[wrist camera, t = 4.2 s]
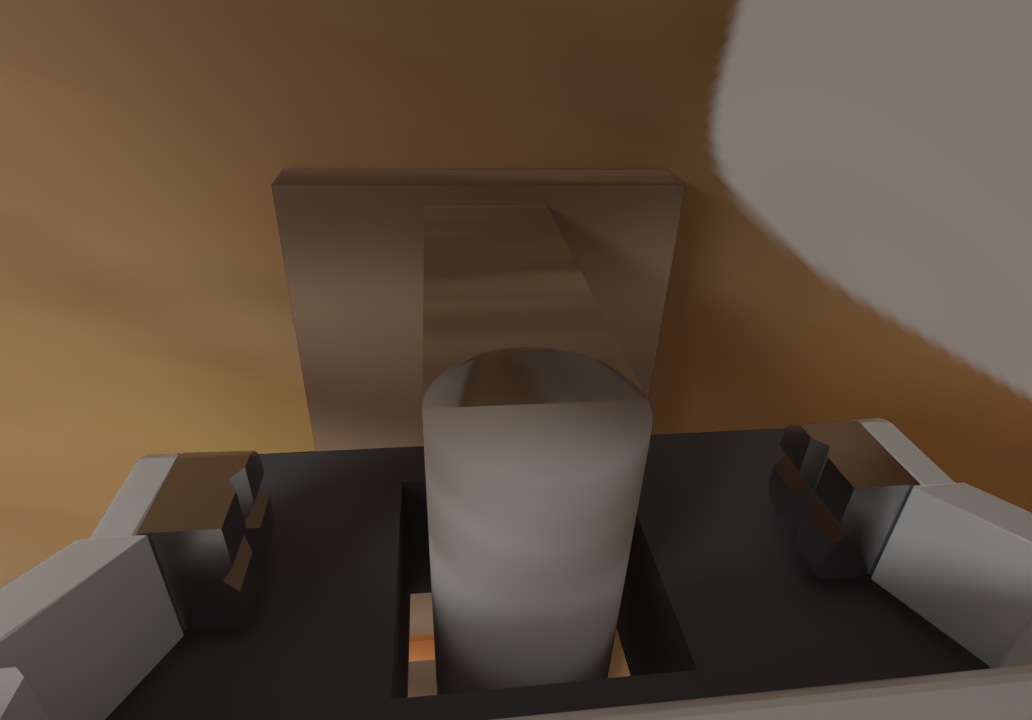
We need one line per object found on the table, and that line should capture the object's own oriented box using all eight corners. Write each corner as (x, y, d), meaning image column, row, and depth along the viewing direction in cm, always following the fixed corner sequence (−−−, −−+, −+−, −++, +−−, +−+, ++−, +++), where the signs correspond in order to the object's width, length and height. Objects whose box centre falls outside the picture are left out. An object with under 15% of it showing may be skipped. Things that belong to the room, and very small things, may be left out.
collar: (184, 457, 12) (-5, 829, 7) (794, 428, 13) (1027, 714, 8) (218, 569, 13) (87, 940, 8) (760, 531, 15) (939, 828, 10)
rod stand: (283, 168, 16) (52, 478, 6) (666, 169, 17) (989, 430, 7) (369, 724, 29) (338, 1112, 19) (584, 702, 30) (661, 1057, 20)
